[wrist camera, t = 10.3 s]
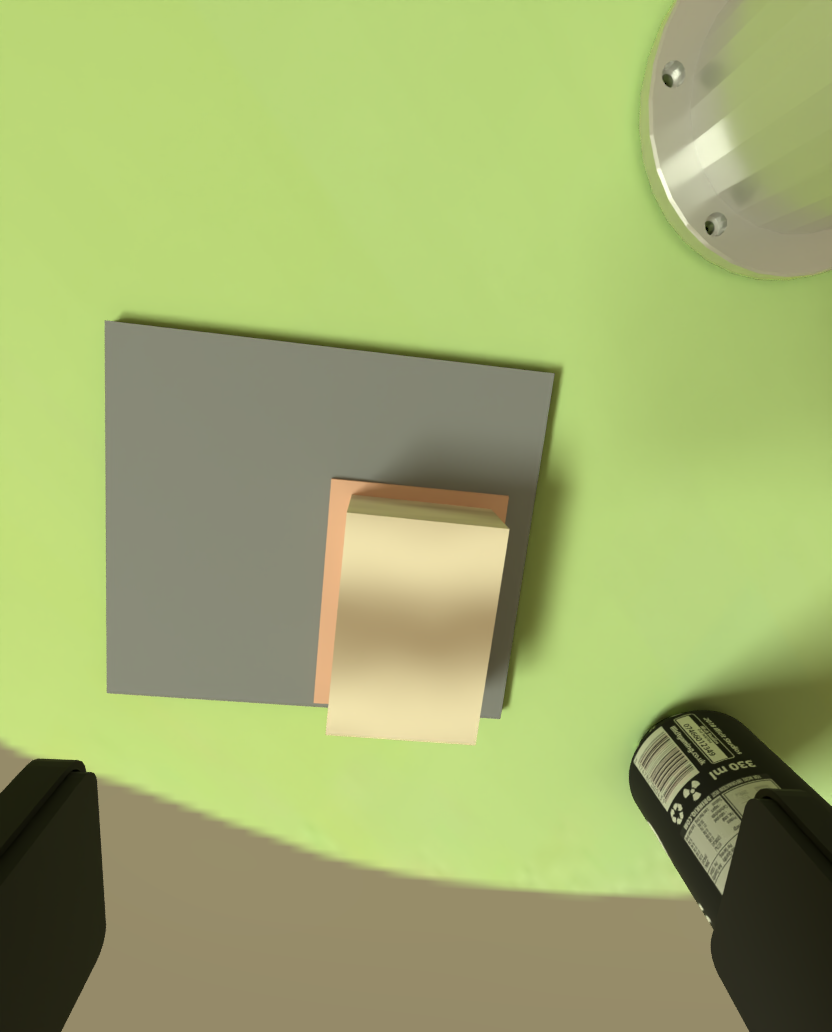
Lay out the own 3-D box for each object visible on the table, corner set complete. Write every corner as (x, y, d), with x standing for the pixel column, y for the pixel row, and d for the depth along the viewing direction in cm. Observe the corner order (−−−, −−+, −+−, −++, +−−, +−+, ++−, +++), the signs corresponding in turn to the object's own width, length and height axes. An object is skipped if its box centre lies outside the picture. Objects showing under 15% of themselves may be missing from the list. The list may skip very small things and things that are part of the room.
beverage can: (730, 819, 30) (957, 1098, 18) (610, 811, 29) (763, 1093, 17) (762, 707, 28) (1030, 929, 17) (637, 696, 28) (823, 918, 16)
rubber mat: (550, 373, 24) (556, 373, 23) (497, 711, 27) (501, 721, 27) (111, 322, 23) (102, 319, 22) (113, 686, 26) (104, 695, 25)
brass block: (462, 697, 26) (475, 745, 23) (333, 687, 26) (325, 734, 22) (491, 509, 24) (509, 529, 21) (351, 494, 24) (346, 512, 20)
